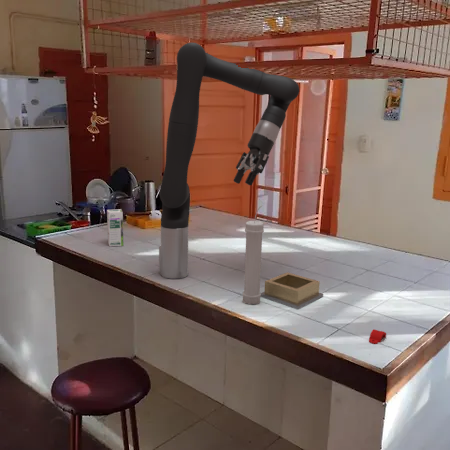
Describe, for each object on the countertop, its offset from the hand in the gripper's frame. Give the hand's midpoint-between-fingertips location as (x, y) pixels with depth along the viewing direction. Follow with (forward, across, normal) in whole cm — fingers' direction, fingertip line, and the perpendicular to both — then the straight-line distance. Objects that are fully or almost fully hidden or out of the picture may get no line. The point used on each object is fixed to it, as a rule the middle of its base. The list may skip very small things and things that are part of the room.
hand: (242, 183), depth 159 cm
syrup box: (+38, -60, -11) cm, 72 cm away
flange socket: (+25, +14, +25) cm, 39 cm away
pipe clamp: (+26, +46, +32) cm, 62 cm away
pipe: (+32, +14, +14) cm, 37 cm away
